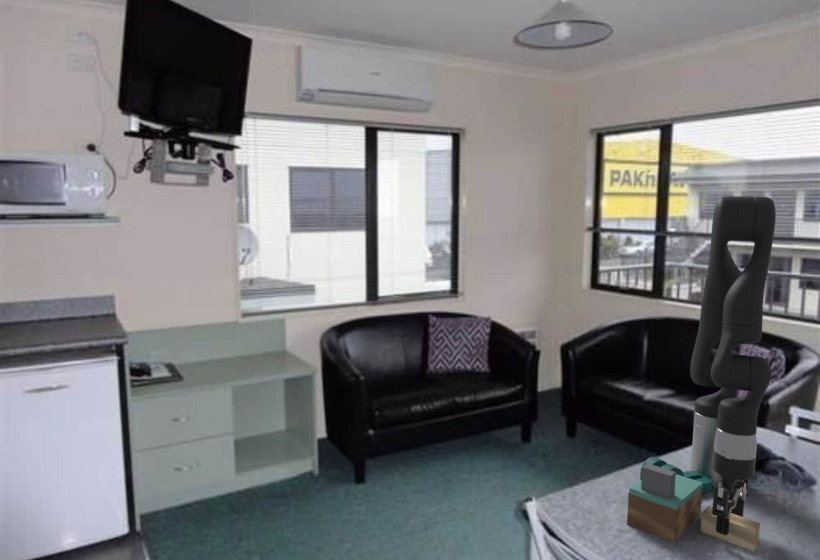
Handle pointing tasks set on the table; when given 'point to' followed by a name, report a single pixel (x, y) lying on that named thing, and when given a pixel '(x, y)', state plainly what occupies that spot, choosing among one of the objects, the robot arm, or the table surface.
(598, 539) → the table surface
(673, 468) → the bracket
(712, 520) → the pale wooden block
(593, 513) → the table surface
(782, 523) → the table surface
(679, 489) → the lid
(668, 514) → the open wooden box
